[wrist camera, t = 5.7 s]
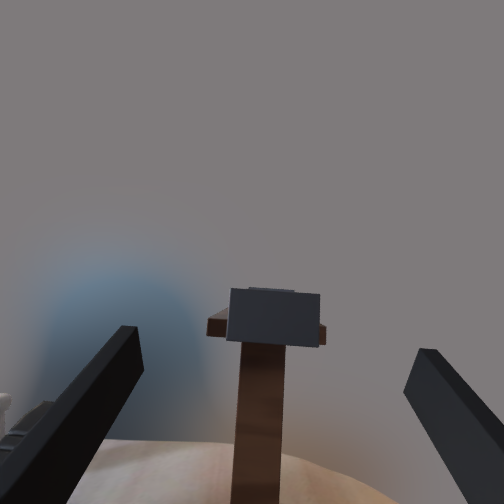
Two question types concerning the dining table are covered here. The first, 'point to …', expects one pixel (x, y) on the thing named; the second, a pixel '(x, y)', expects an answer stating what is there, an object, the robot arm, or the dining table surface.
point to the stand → (257, 417)
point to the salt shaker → (3, 411)
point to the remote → (273, 317)
